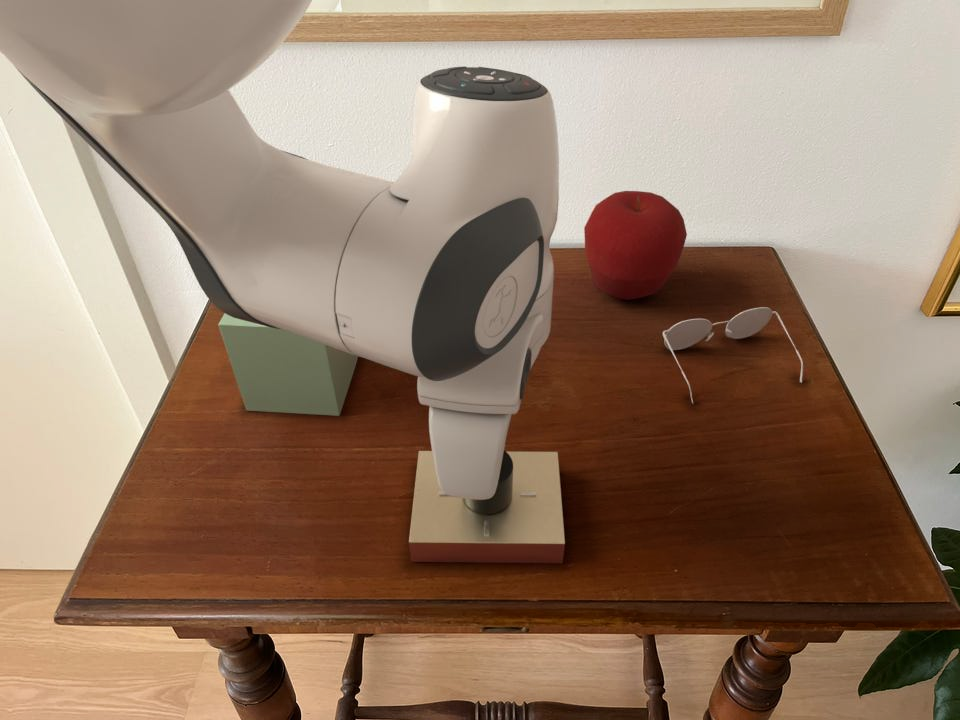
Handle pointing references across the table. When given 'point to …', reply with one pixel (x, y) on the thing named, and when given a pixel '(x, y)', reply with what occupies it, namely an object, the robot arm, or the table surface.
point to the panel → (491, 517)
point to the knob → (497, 491)
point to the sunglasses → (736, 328)
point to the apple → (633, 243)
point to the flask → (286, 369)
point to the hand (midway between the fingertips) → (489, 439)
